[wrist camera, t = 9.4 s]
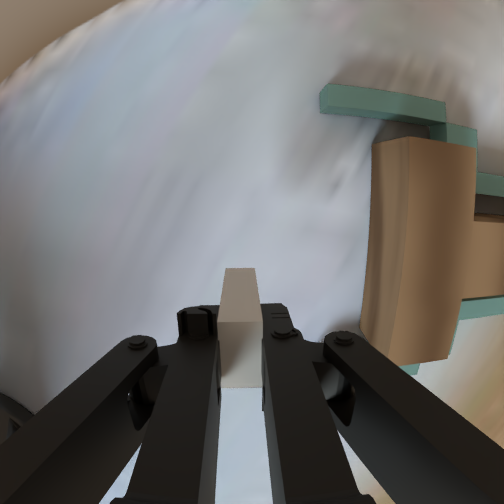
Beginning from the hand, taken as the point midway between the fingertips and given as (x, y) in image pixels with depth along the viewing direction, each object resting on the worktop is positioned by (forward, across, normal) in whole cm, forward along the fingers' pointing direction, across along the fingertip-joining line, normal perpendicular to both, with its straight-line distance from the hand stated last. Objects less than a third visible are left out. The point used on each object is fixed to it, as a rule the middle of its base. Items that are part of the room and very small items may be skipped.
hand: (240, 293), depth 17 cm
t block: (+6, +17, +2) cm, 18 cm away
